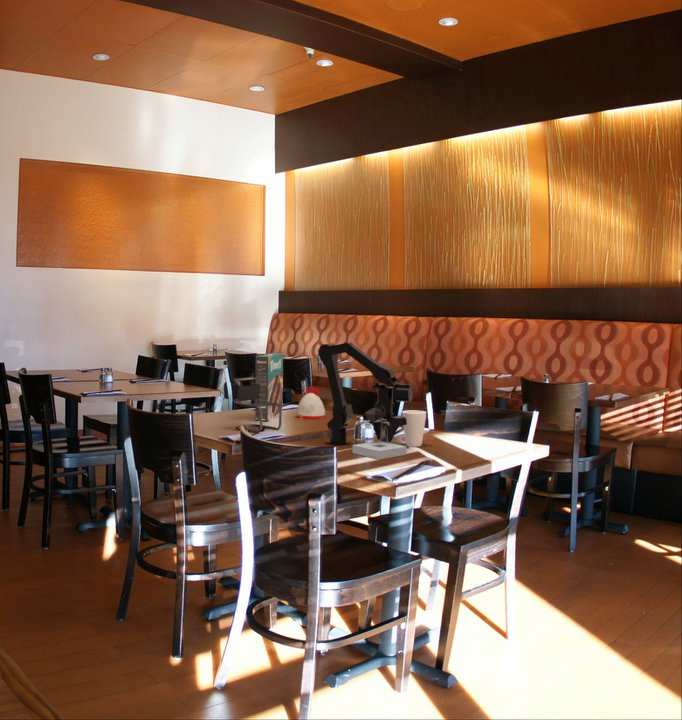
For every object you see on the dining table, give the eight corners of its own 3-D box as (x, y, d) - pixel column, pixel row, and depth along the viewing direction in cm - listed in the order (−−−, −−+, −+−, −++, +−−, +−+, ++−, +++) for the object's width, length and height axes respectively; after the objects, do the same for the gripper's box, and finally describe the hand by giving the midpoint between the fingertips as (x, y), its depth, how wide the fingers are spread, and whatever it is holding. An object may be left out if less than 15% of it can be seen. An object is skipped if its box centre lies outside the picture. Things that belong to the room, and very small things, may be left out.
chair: (253, 425, 339) (253, 376, 337) (282, 430, 328) (282, 379, 327) (231, 429, 329) (232, 378, 327) (260, 434, 318) (261, 381, 317)
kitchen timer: (321, 420, 358) (321, 388, 357) (292, 418, 361) (293, 387, 360) (328, 416, 372) (328, 385, 370) (301, 414, 375) (301, 384, 374)
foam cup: (397, 443, 302) (398, 410, 301) (418, 442, 305) (419, 409, 304) (408, 447, 293) (408, 414, 292) (429, 446, 297) (430, 413, 296)
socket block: (352, 453, 282) (352, 445, 281) (380, 448, 291) (380, 440, 290) (378, 459, 271) (378, 451, 271) (406, 454, 280) (406, 446, 280)
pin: (378, 447, 293) (379, 422, 293) (384, 446, 295) (384, 422, 295) (383, 448, 291) (384, 423, 290) (389, 447, 293) (390, 423, 292)
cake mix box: (267, 422, 350) (268, 356, 348) (255, 421, 352) (255, 356, 349) (282, 415, 372) (282, 353, 369) (270, 414, 373) (271, 353, 371)
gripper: (353, 399, 294) (352, 439, 295) (386, 404, 280) (385, 447, 281) (374, 397, 301) (373, 436, 302) (408, 402, 287) (407, 443, 288)
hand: (384, 440), depth 293 cm, fingers open, 6 cm apart
